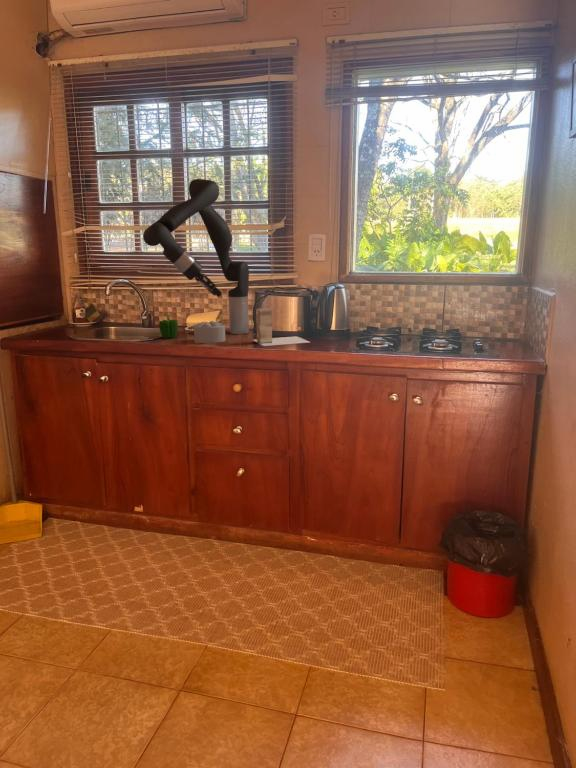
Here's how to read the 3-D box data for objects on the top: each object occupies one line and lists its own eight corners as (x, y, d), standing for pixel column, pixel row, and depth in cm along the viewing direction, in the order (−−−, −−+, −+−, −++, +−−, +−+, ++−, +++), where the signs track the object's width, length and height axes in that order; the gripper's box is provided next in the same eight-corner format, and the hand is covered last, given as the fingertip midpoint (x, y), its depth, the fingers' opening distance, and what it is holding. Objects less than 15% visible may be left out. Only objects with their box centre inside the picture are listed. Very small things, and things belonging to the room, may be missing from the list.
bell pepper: (175, 339, 245) (173, 317, 243) (157, 339, 246) (156, 316, 244) (181, 336, 253) (180, 314, 251) (164, 335, 254) (163, 314, 252)
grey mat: (252, 341, 239) (252, 339, 239) (296, 337, 246) (296, 336, 246) (263, 347, 224) (263, 345, 224) (310, 343, 232) (310, 342, 232)
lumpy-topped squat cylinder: (201, 339, 245) (200, 320, 243) (228, 340, 242) (228, 320, 240) (192, 343, 235) (191, 323, 233) (221, 344, 232) (220, 324, 230)
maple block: (257, 341, 234) (256, 308, 230) (268, 340, 236) (267, 308, 232) (260, 343, 229) (260, 310, 226) (272, 342, 231) (271, 309, 228)
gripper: (197, 258, 207) (229, 289, 214) (190, 257, 220) (220, 286, 227) (184, 273, 207) (216, 303, 214) (177, 271, 220) (208, 299, 227)
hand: (218, 294), depth 221 cm, fingers open, 6 cm apart
